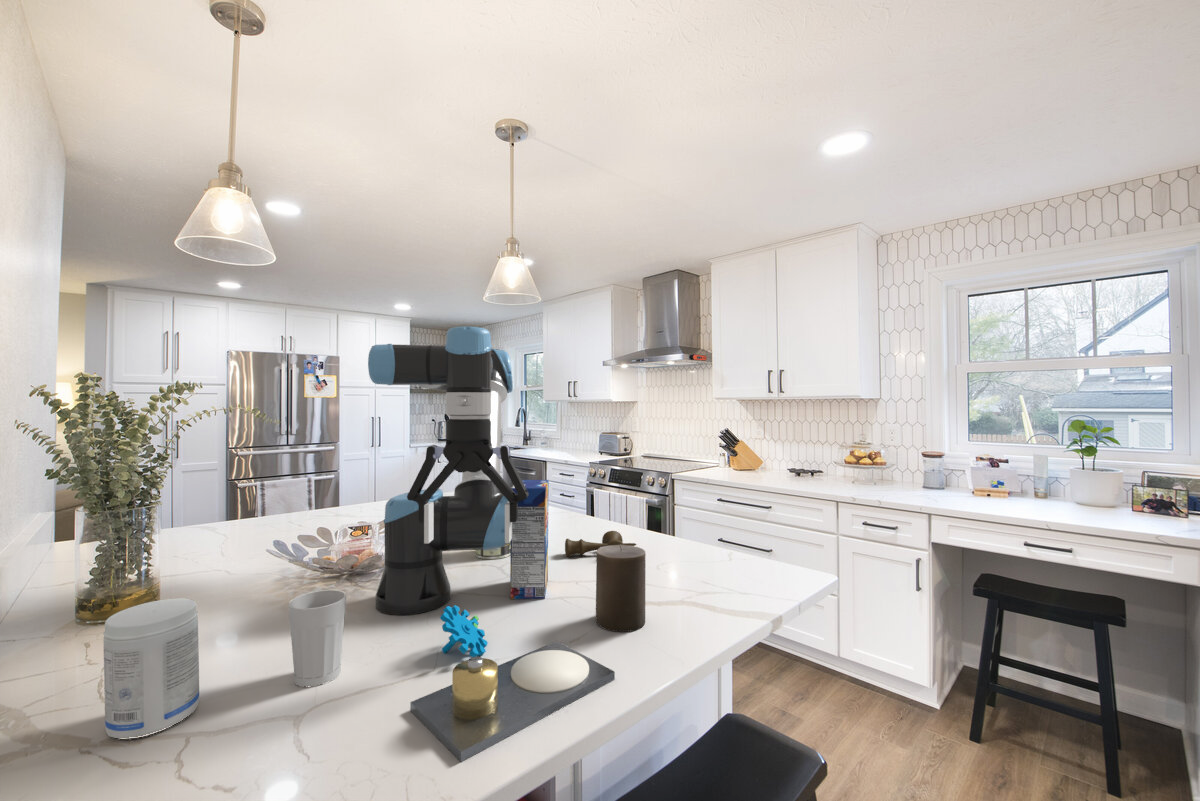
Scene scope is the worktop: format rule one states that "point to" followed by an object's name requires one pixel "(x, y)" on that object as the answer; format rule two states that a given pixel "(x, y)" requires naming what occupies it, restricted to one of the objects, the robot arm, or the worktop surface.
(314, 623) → the cup
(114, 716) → the supplement tub
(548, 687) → the disc
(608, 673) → the carrier plate
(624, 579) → the pillar candle
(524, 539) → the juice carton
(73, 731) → the worktop surface
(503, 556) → the coffee can
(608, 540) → the kendama
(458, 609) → the gear
